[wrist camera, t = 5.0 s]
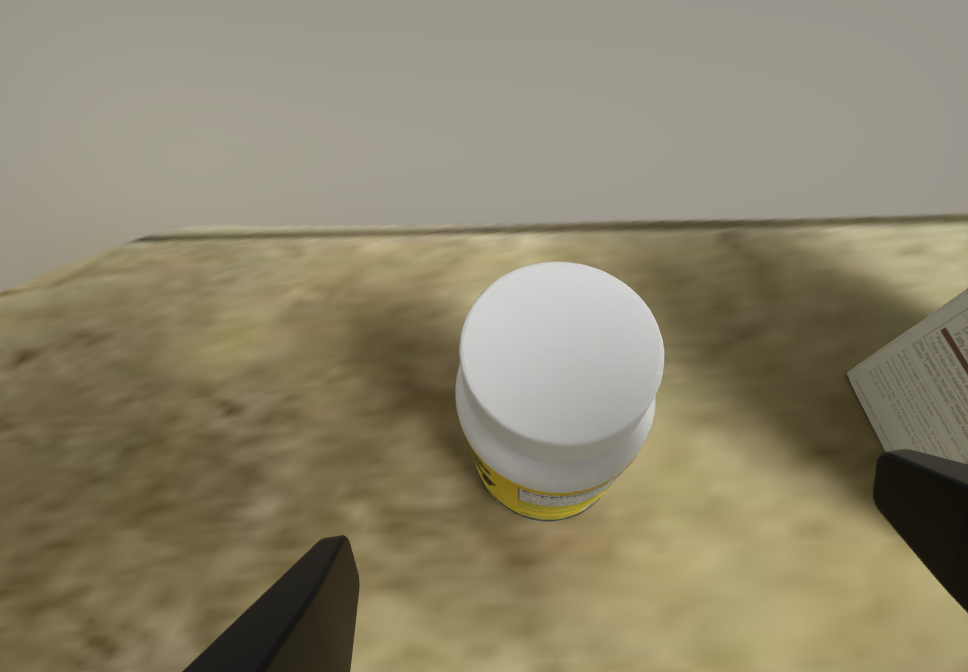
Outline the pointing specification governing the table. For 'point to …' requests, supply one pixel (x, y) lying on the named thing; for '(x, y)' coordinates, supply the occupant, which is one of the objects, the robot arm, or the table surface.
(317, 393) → the table surface
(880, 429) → the supplement box
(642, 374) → the supplement bottle
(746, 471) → the table surface
